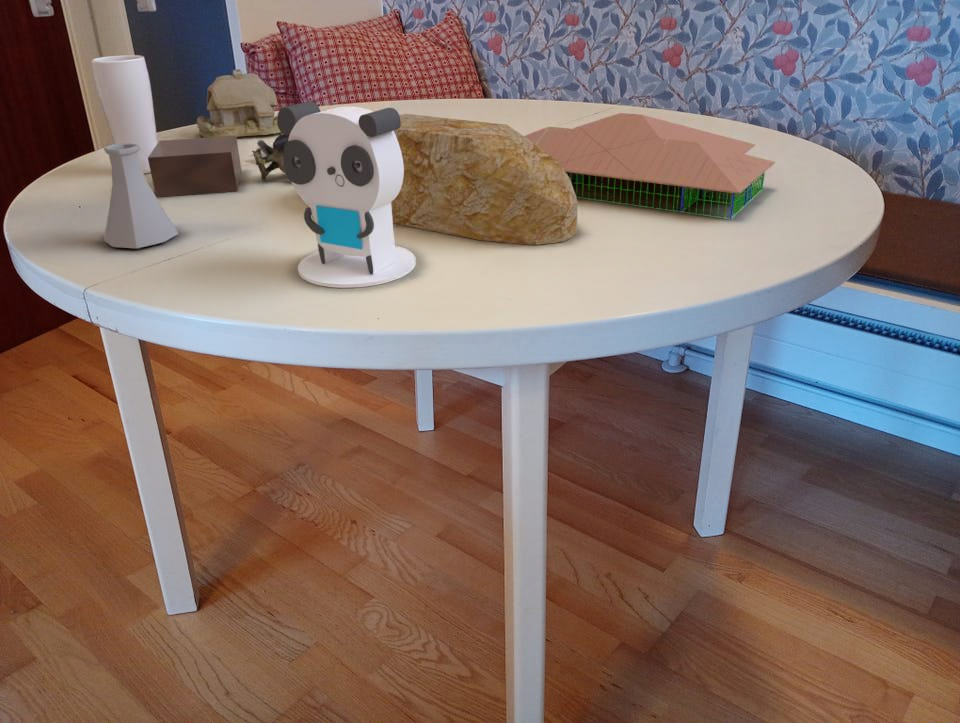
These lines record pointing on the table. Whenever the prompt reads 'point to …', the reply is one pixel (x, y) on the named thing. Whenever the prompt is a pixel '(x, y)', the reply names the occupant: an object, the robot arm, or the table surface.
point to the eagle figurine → (271, 155)
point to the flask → (133, 203)
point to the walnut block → (195, 166)
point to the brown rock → (481, 183)
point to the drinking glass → (127, 102)
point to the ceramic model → (239, 107)
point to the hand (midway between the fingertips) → (96, 13)
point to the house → (656, 158)
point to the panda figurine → (347, 191)
